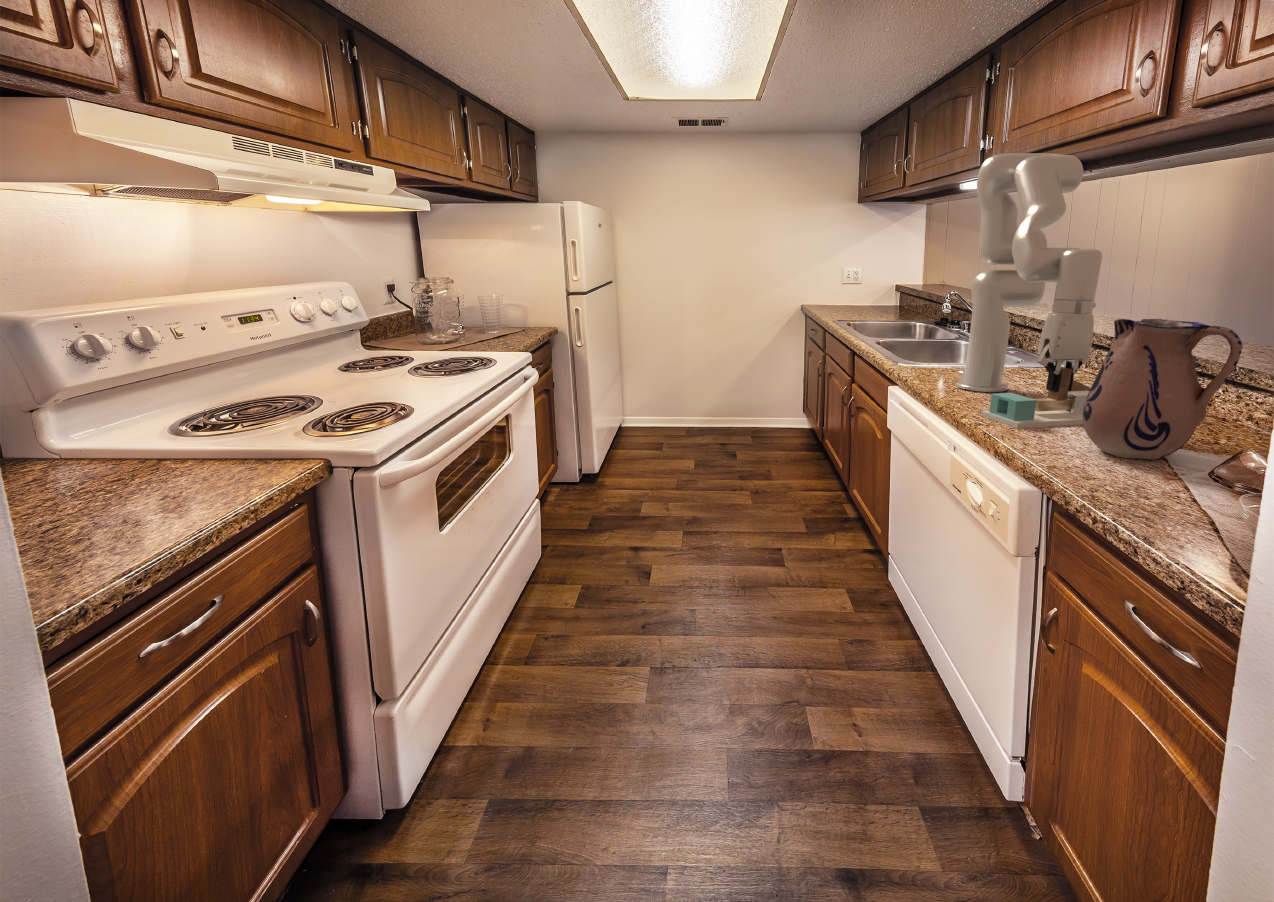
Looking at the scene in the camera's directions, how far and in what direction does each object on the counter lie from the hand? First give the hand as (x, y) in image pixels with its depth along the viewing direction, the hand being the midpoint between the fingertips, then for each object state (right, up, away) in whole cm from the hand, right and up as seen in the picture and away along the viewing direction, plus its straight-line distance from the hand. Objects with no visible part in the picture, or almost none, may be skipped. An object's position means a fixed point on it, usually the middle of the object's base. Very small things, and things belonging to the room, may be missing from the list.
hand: (1058, 389), depth 156 cm
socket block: (-11, -6, -1) cm, 12 cm away
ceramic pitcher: (0, -15, -25) cm, 29 cm away
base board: (-2, -6, +1) cm, 7 cm away
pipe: (+19, -2, +19) cm, 27 cm away
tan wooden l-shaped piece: (+3, -4, +2) cm, 5 cm away
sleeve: (+6, -5, +3) cm, 8 cm away
